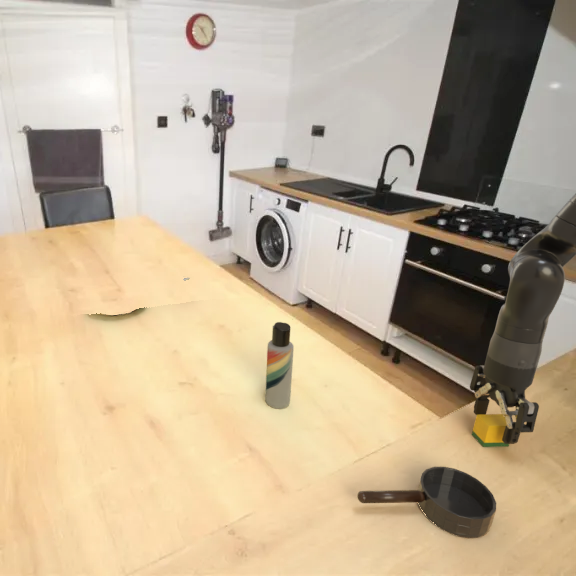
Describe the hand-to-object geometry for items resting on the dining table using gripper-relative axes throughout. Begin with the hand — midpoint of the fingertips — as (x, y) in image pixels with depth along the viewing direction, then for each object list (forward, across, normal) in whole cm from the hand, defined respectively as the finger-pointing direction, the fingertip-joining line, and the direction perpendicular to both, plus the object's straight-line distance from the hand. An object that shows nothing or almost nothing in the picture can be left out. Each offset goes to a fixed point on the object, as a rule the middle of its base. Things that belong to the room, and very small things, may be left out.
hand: (493, 427), depth 82 cm
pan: (+3, -16, +17) cm, 24 cm away
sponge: (+3, 0, 0) cm, 3 cm away
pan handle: (0, -17, +28) cm, 32 cm away
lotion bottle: (+3, +13, +40) cm, 43 cm away
